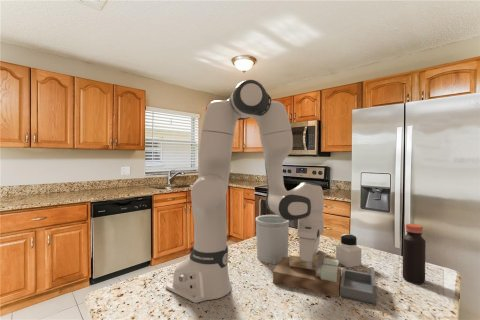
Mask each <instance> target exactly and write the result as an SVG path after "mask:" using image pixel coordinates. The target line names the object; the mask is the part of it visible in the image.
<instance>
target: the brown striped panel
mask: <svg viewBox="0 0 480 320" xmlns="http://www.w3.org/2000/svg"><path fill="white" fill-rule="evenodd" d="M341 276H342V266H339V270H338V276H337V282H334V281H329V280H323V279H321V277H319V276H316V270H312V269H305V268H299V267H293V266H290V260H289V257H288V258H286V257H283V258H282V260H281V261H280V262H279V264H276V266H275V268H274V269H273V271H272V283H275V284H278V285H283V286H288V287H292V288H297V289H300V290H306V291H309V292H313V293H317V294H323V295H328V296H331V297H335V298H340V284H341Z"/></svg>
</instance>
